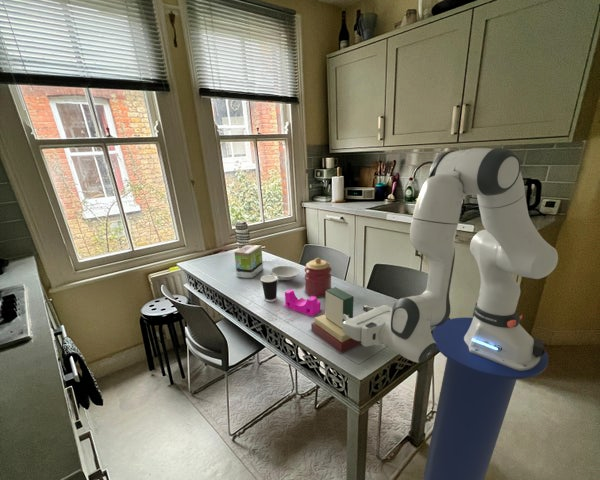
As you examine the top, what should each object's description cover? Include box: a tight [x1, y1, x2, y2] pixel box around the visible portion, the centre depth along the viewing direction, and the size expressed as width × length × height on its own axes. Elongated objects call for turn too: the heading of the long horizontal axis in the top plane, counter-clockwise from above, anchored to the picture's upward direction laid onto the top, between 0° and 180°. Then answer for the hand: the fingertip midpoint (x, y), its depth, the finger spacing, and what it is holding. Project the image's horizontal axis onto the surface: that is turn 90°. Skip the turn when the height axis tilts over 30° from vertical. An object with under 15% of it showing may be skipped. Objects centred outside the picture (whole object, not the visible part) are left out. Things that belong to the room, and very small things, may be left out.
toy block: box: [284, 288, 322, 317], centre depth 139 cm, size 15×6×8 cm, turn 51°
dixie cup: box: [260, 274, 279, 303], centre depth 148 cm, size 8×8×11 cm
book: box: [325, 286, 355, 329], centre depth 116 cm, size 10×5×12 cm, turn 34°
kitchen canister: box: [304, 257, 332, 298], centre depth 153 cm, size 13×13×18 cm
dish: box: [270, 265, 301, 281], centre depth 171 cm, size 18×14×5 cm
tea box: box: [234, 244, 264, 279], centre depth 179 cm, size 15×10×15 cm, turn 162°
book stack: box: [310, 313, 362, 354], centre depth 119 cm, size 18×13×6 cm
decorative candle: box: [234, 220, 251, 250], centre depth 197 cm, size 9×9×25 cm
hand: (354, 311), depth 109 cm, fingers open, 8 cm apart
